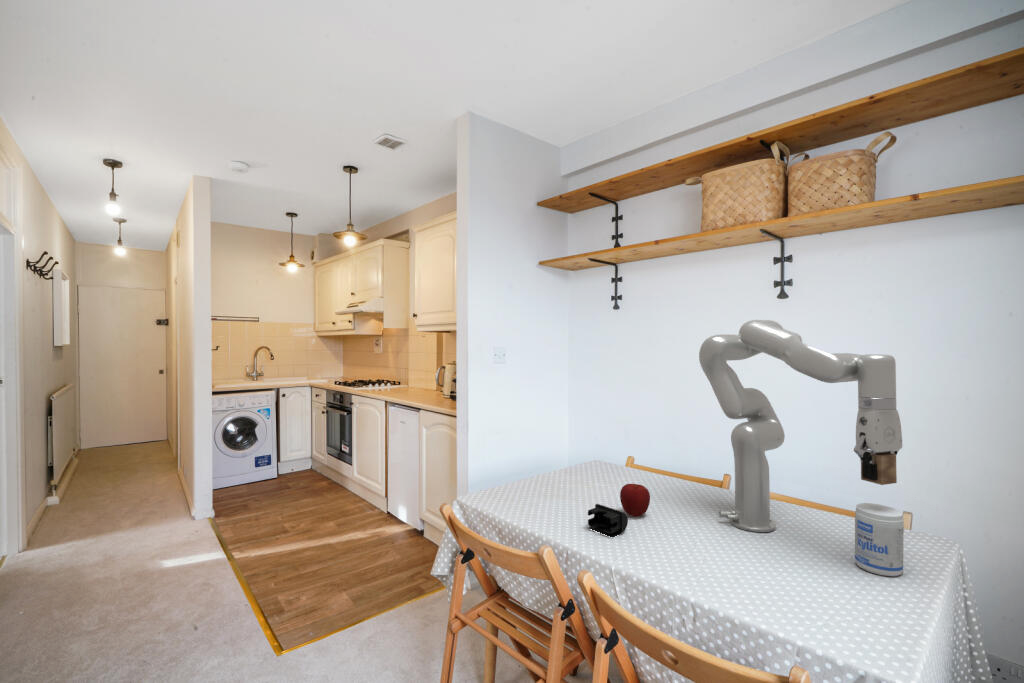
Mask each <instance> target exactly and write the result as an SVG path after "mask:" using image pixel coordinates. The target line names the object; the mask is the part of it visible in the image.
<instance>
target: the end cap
mask: <svg viewBox="0 0 1024 683" xmlns="http://www.w3.org/2000/svg"><path fill="white" fill-rule="evenodd" d="M592 515H593V517H591V518H588V519H587V525H588V526H589V527H588V529H589V528H590V529H592V530H595V531H597V532H600V533H602V534H605V535H607V536H610V537H615V536H617V535H619V536H621V535H622V534H623V533H624V532H625V531H626V529H627V527H628V525H629V524H628V522H629V521H628V520H629V518H628V514H627V513H626V512H625V511H621V510H618V509H615V508H612V507H608V506H606V505H602V504H599V503H595V505H594V508H593V507H592V508H590V509H588V510H587V516H589V517H590V516H592ZM620 534H621V535H620ZM607 536H606V537H607ZM617 537H618V536H617ZM615 538H616V537H615Z"/></svg>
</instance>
